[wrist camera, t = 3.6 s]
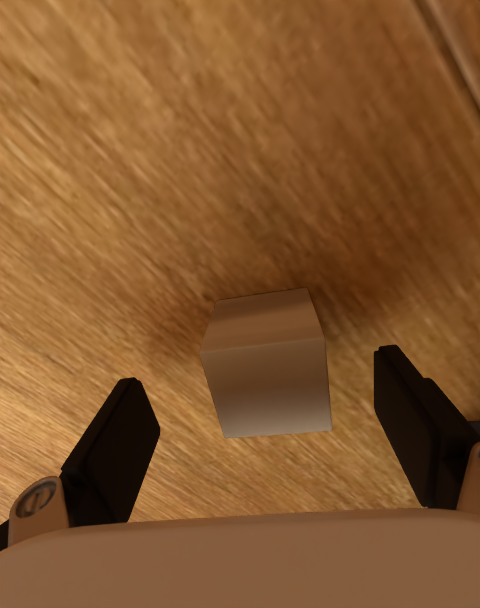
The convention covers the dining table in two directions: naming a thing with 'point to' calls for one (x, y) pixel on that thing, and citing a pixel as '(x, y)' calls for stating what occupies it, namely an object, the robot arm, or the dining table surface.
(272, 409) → the block
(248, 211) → the dining table surface
